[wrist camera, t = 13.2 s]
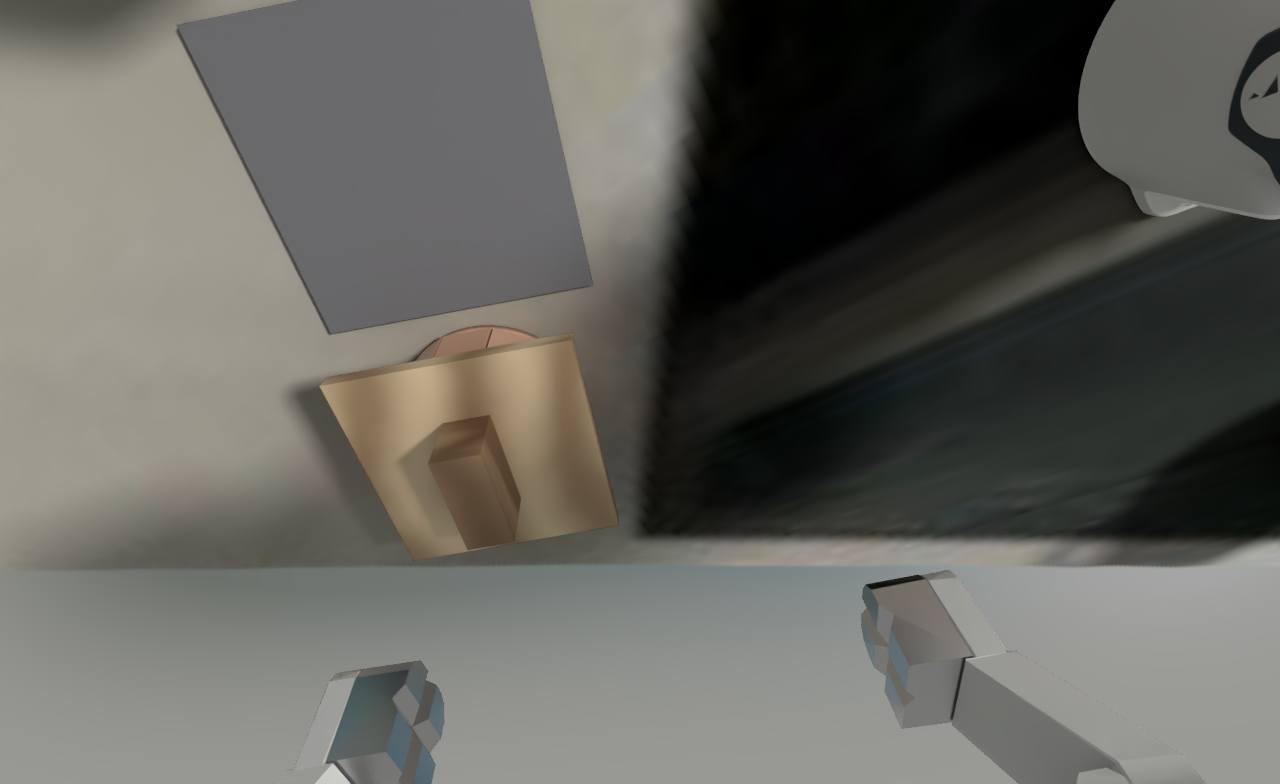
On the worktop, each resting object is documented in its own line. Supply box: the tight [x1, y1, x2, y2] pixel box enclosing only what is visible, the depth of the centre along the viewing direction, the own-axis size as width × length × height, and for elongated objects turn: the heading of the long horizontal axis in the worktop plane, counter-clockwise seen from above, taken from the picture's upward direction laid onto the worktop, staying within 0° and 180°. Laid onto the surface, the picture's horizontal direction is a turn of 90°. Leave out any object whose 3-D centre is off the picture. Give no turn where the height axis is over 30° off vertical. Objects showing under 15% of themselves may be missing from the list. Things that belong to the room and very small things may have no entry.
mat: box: [177, 0, 593, 334], centre depth 35 cm, size 18×18×1 cm
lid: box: [320, 333, 619, 561], centre depth 37 cm, size 15×15×5 cm
